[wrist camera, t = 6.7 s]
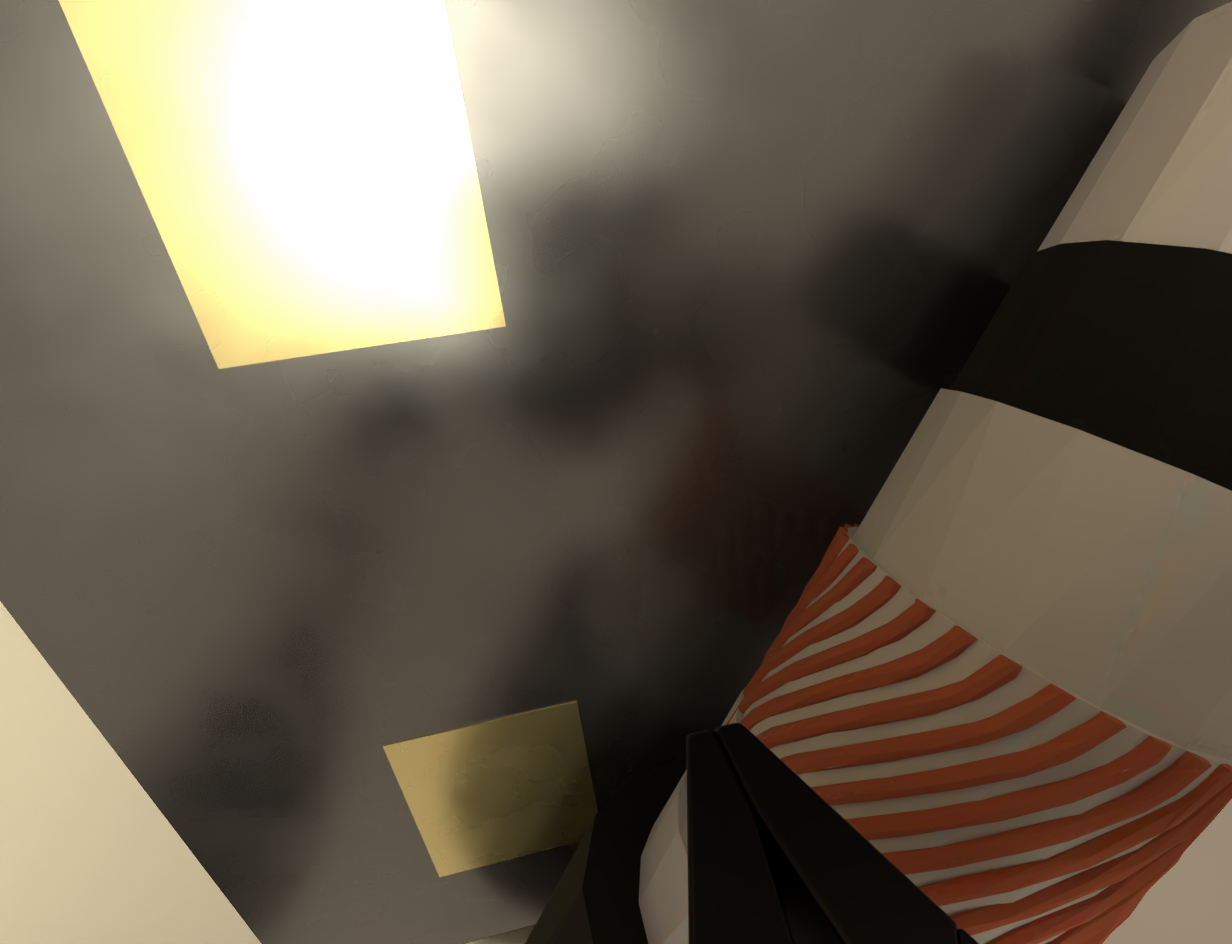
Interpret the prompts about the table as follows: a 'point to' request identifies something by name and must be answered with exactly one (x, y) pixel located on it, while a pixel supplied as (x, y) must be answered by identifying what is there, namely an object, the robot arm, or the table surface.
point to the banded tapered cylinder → (1020, 582)
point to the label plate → (481, 386)
